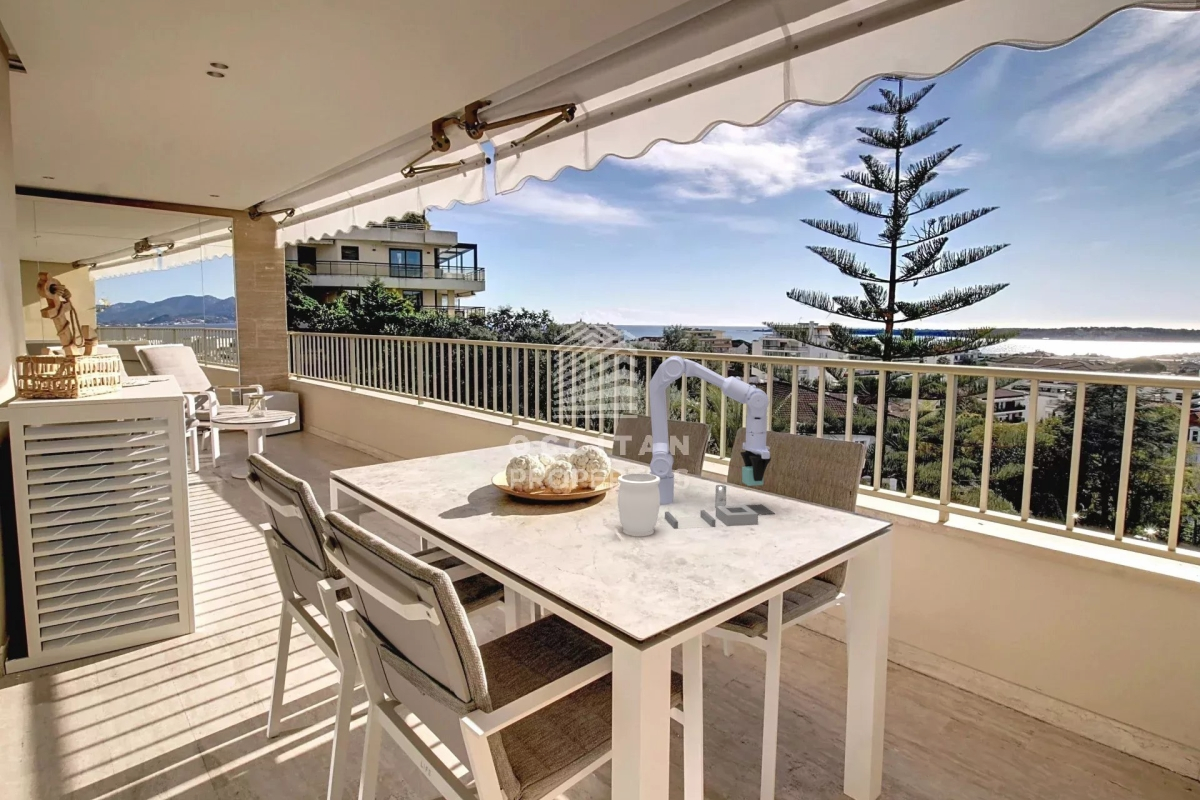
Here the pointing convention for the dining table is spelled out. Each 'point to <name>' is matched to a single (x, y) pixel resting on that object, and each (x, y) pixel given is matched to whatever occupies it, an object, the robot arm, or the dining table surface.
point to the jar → (638, 503)
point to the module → (749, 476)
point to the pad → (760, 509)
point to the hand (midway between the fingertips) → (754, 478)
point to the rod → (720, 495)
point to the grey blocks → (724, 513)
